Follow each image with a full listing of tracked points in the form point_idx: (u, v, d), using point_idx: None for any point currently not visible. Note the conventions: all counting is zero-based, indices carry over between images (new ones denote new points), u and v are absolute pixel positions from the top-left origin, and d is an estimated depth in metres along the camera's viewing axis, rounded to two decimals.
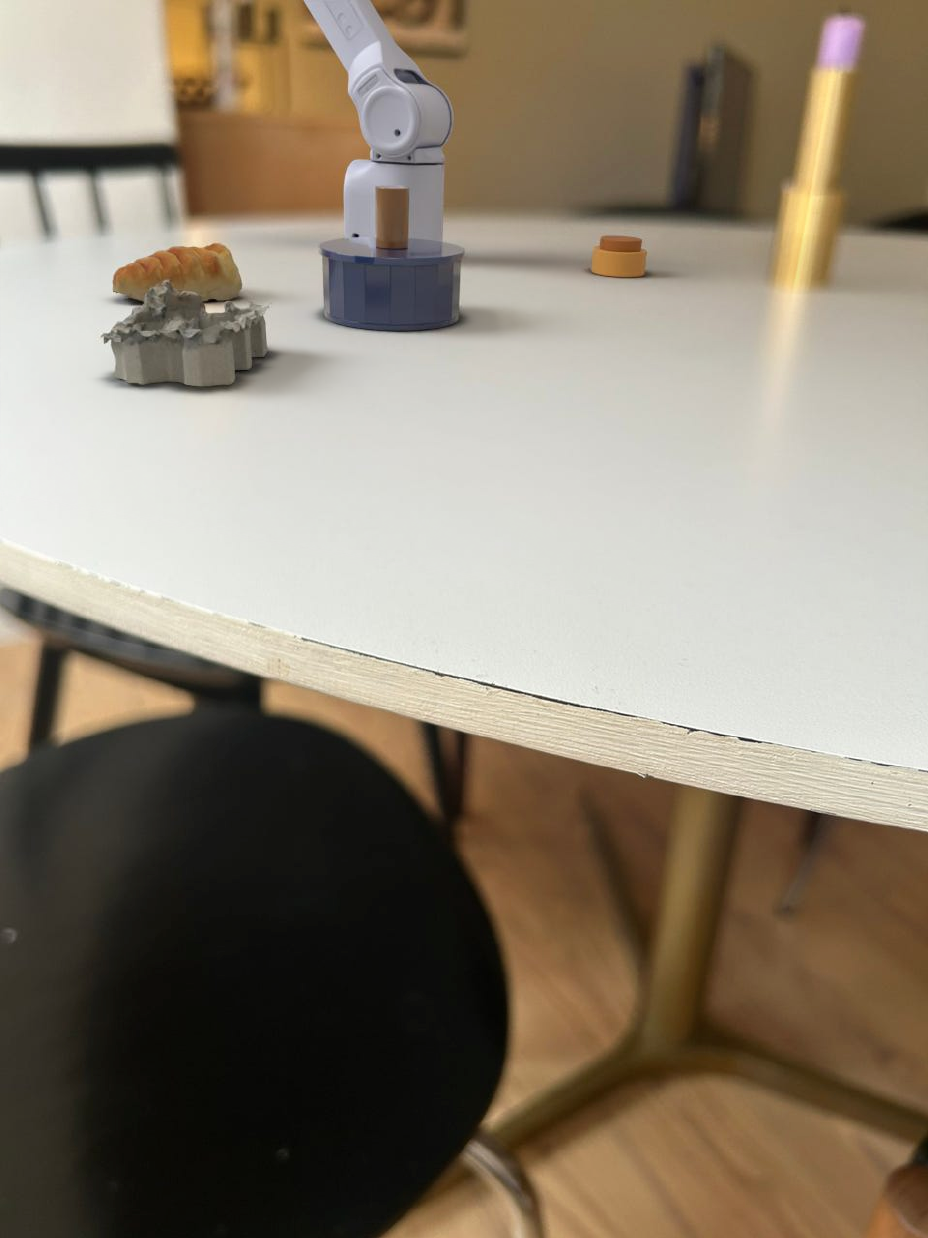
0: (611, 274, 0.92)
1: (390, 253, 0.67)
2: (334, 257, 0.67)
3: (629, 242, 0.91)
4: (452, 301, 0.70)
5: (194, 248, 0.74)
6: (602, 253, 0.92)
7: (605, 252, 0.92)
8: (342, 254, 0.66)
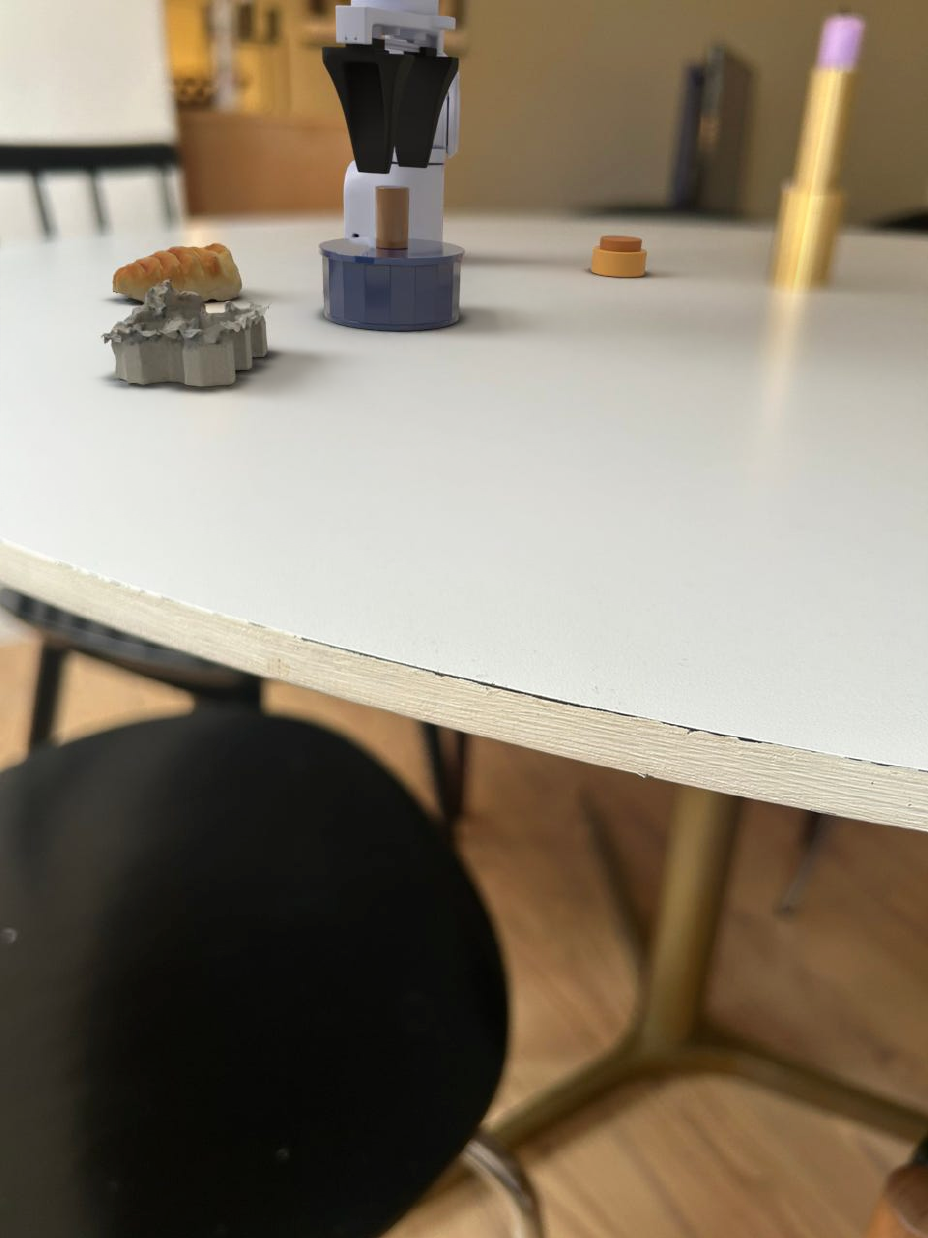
0: (611, 274, 0.92)
1: (390, 253, 0.67)
2: (334, 257, 0.67)
3: (629, 242, 0.91)
4: (452, 301, 0.70)
5: (194, 248, 0.74)
6: (602, 253, 0.92)
7: (605, 252, 0.92)
8: (342, 254, 0.66)
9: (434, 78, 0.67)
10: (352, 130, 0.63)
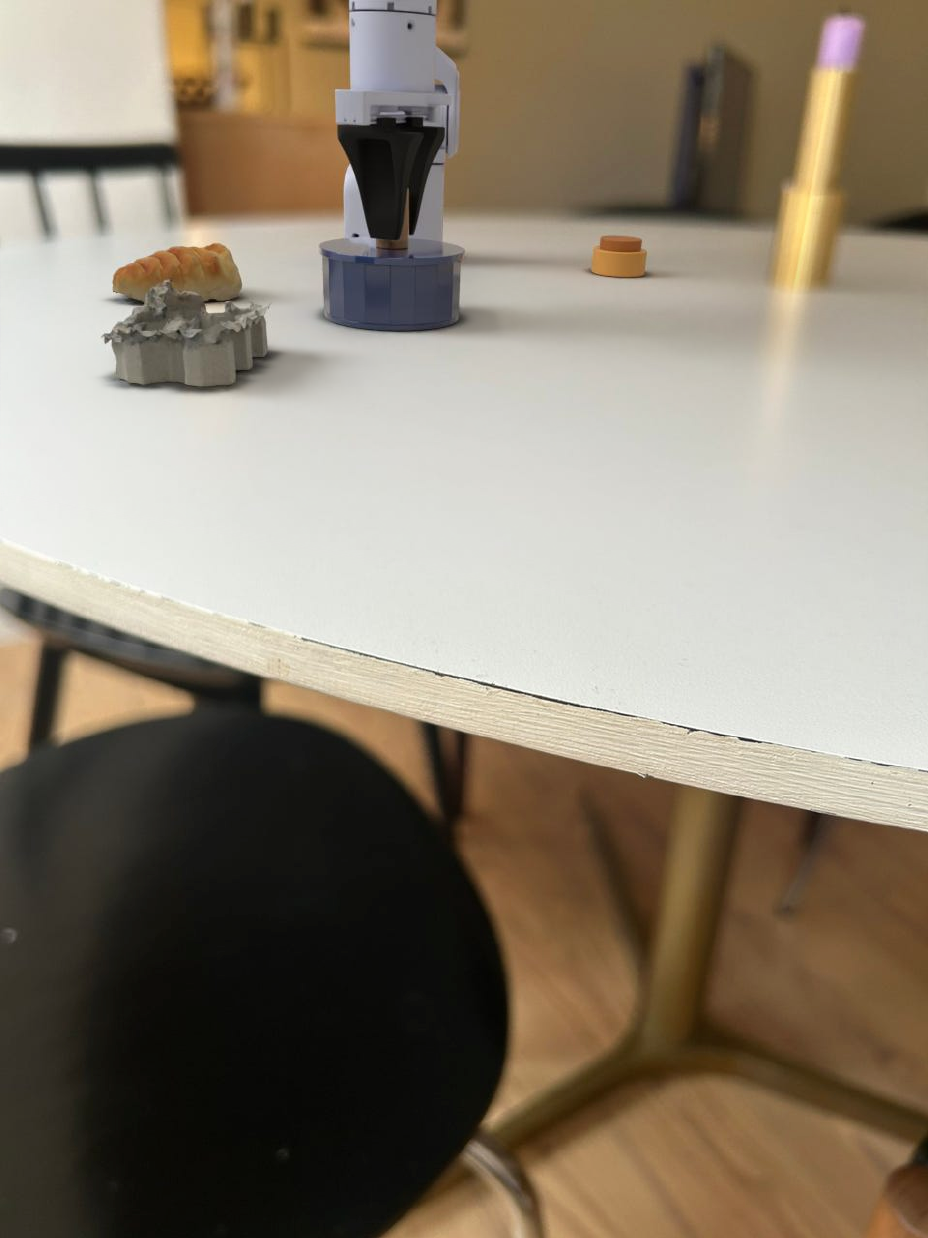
0: (611, 274, 0.92)
1: (390, 253, 0.67)
2: (334, 257, 0.67)
3: (629, 242, 0.91)
4: (452, 301, 0.70)
5: (194, 248, 0.74)
6: (602, 253, 0.92)
7: (605, 252, 0.92)
8: (342, 254, 0.66)
9: (420, 148, 0.68)
10: (365, 200, 0.67)
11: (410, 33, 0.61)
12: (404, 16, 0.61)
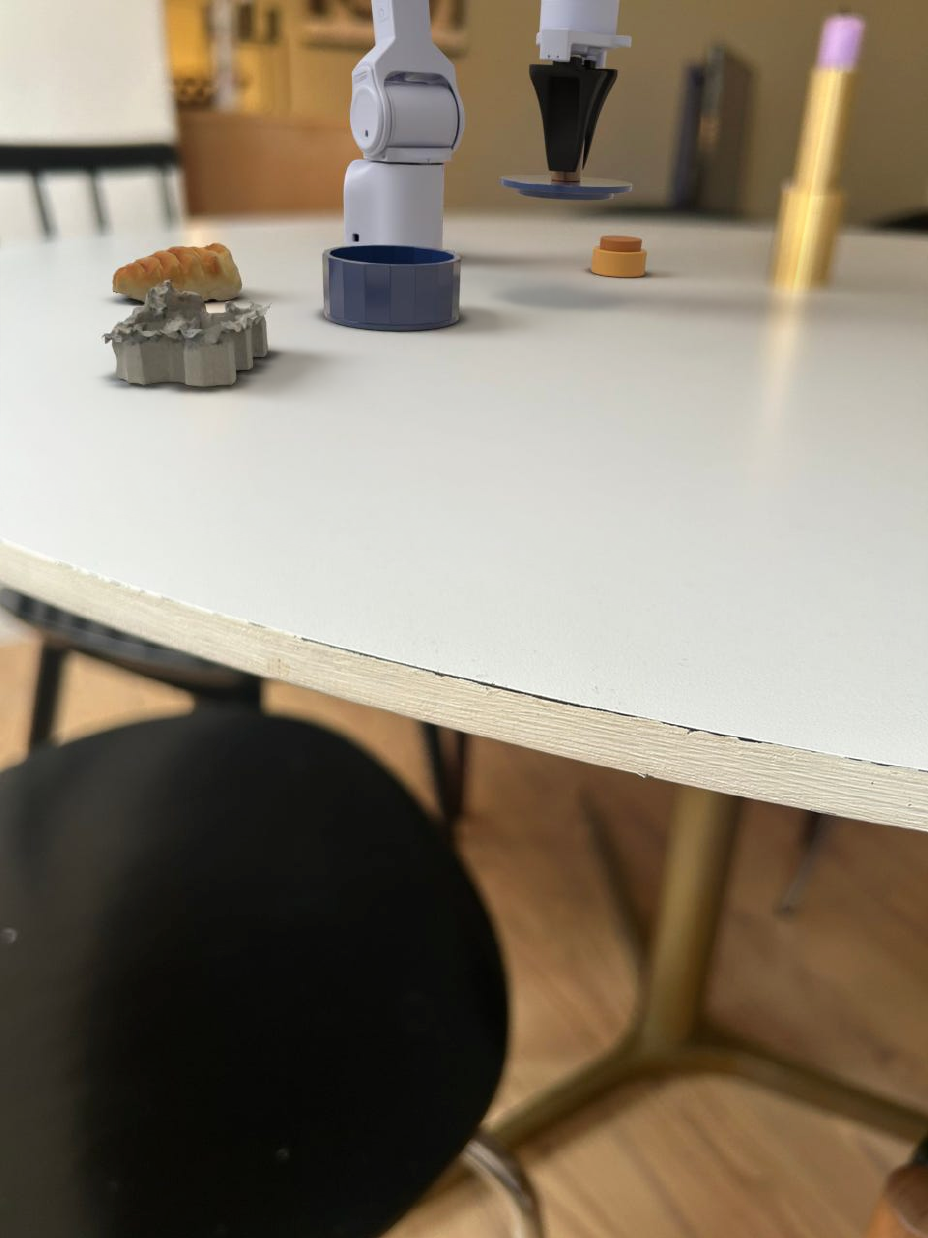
0: (611, 274, 0.92)
1: (570, 183, 0.74)
2: (520, 186, 0.73)
3: (629, 242, 0.91)
4: (452, 301, 0.70)
5: (194, 248, 0.74)
6: (602, 253, 0.92)
7: (605, 252, 0.92)
8: (529, 183, 0.73)
9: None
10: (548, 135, 0.73)
11: None
12: None
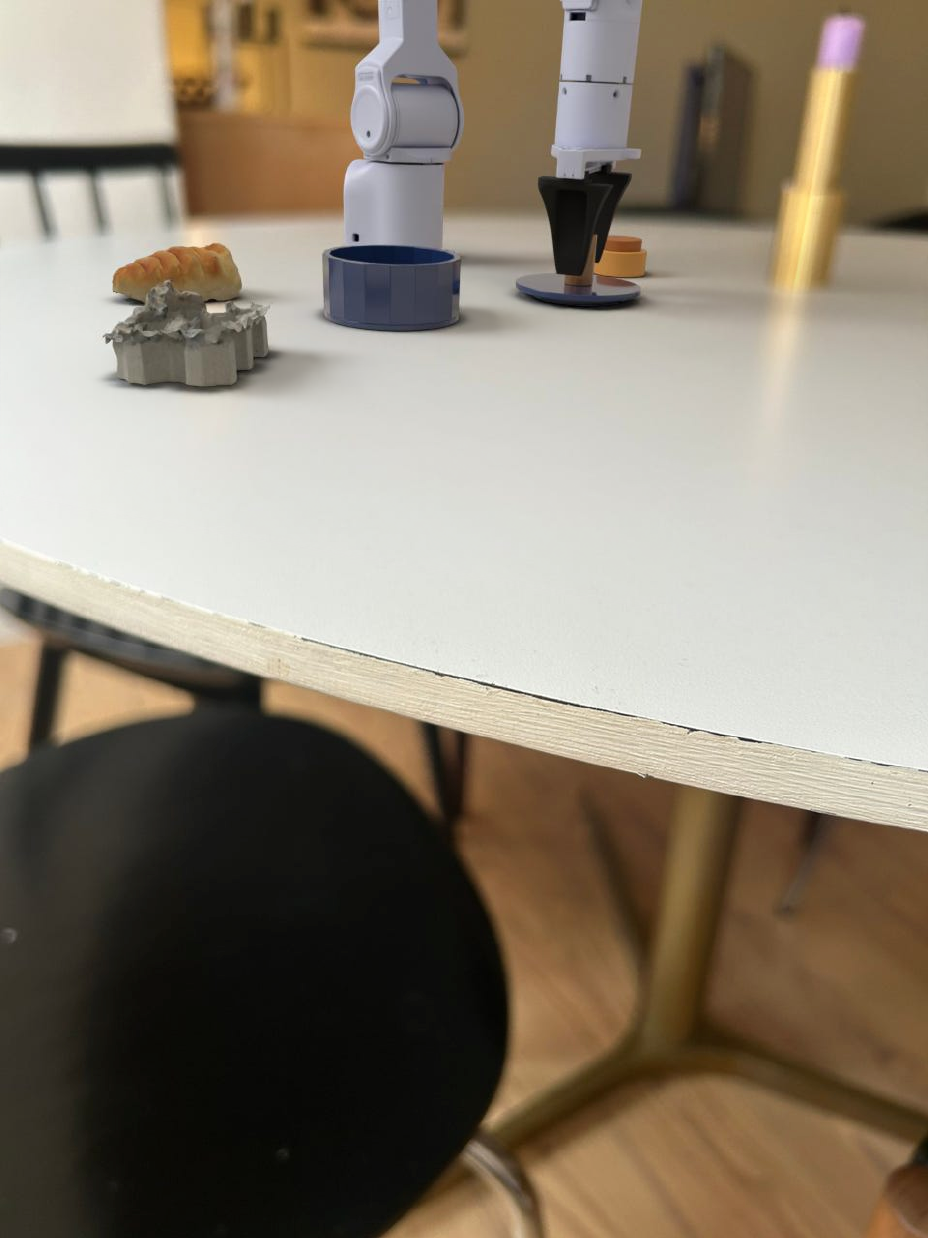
0: (611, 274, 0.92)
1: (583, 290, 0.79)
2: (536, 294, 0.78)
3: (629, 242, 0.91)
4: (452, 301, 0.70)
5: (194, 248, 0.74)
6: None
7: (605, 252, 0.92)
8: (544, 291, 0.78)
9: (612, 191, 0.81)
10: (555, 241, 0.76)
11: (615, 100, 0.73)
12: (612, 86, 0.72)
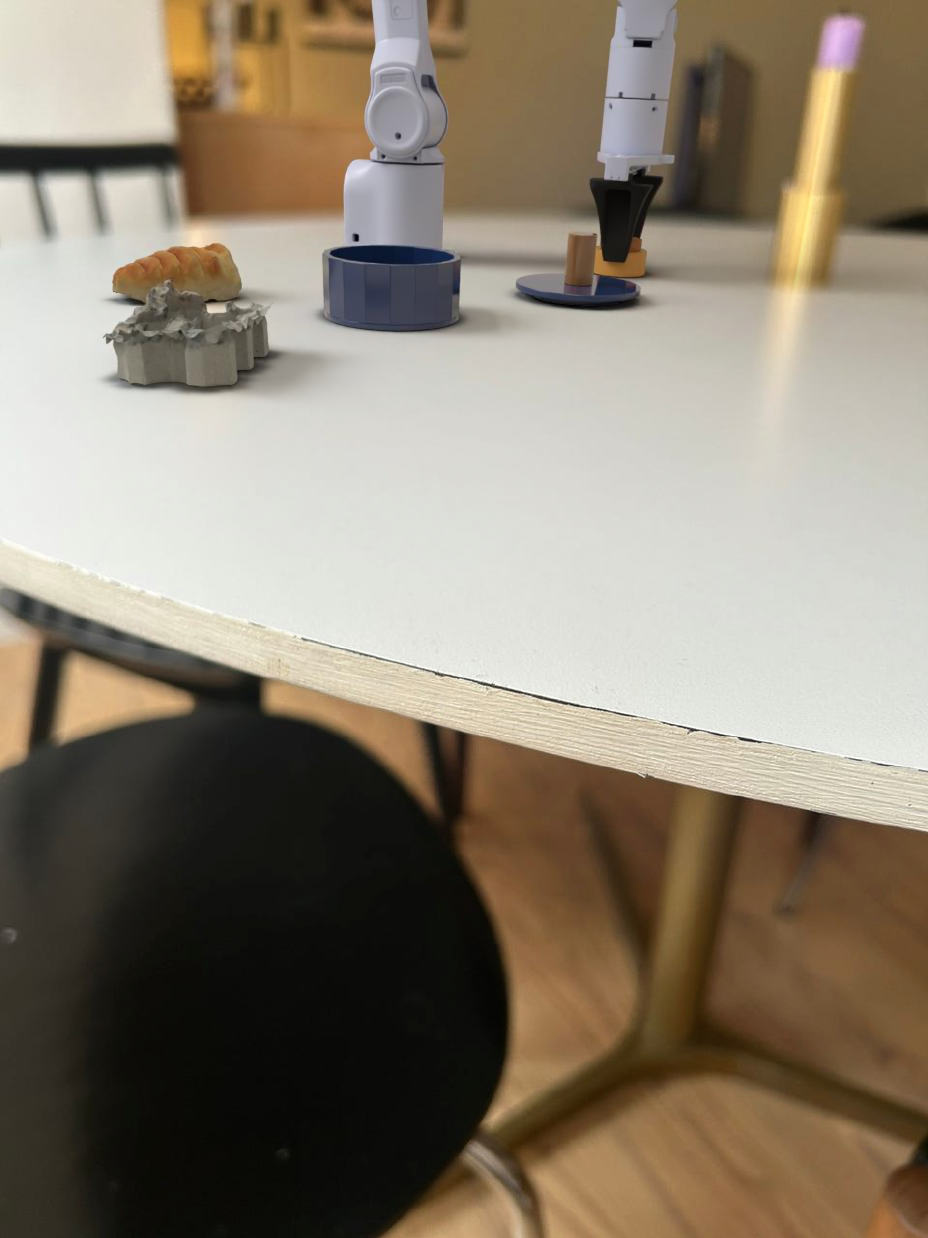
0: (611, 274, 0.92)
1: (583, 290, 0.79)
2: (536, 294, 0.78)
3: None
4: (452, 301, 0.70)
5: (194, 248, 0.74)
6: None
7: None
8: (544, 291, 0.78)
9: None
10: (603, 233, 0.90)
11: (653, 114, 0.86)
12: (651, 102, 0.85)
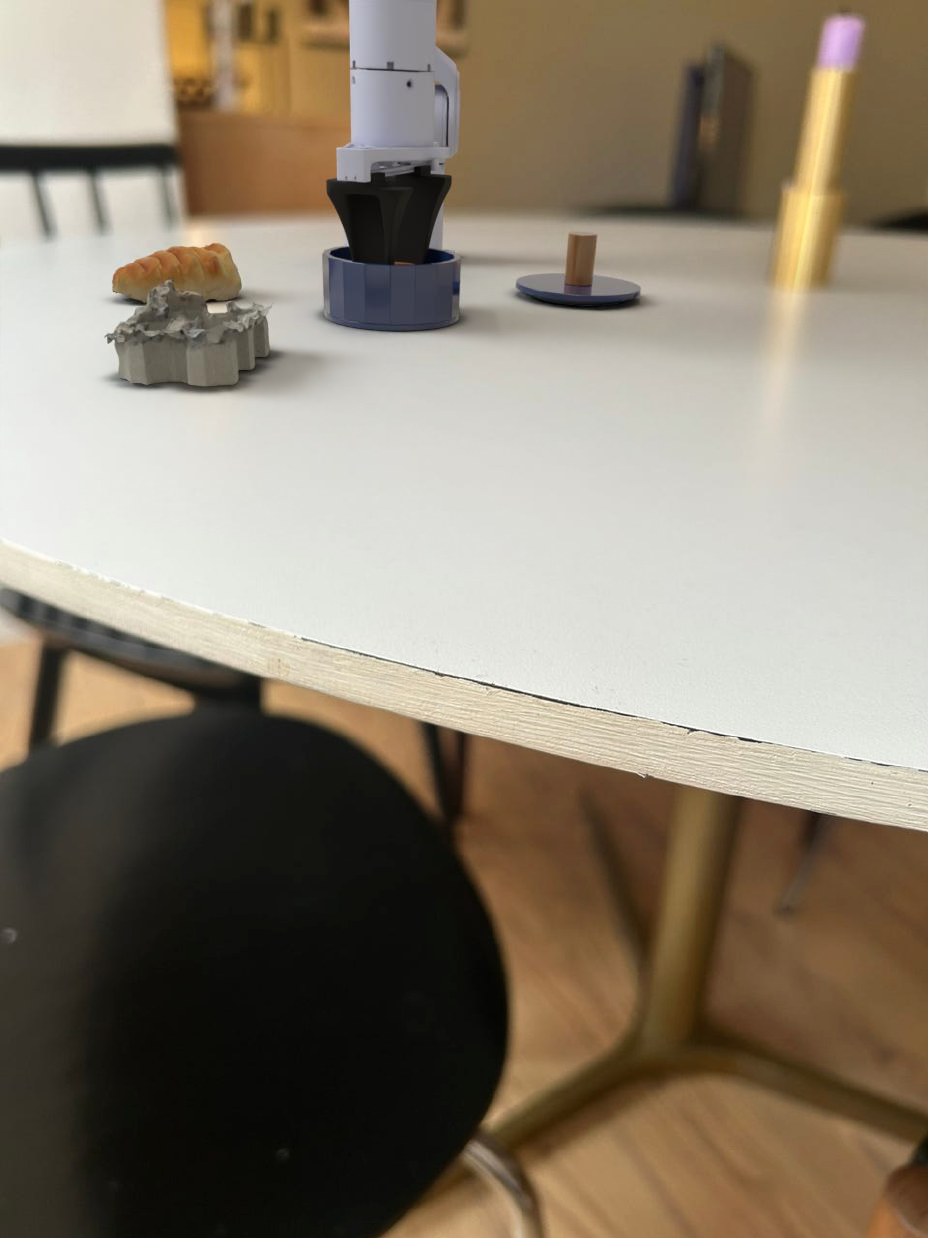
0: None
1: (583, 290, 0.79)
2: (536, 294, 0.78)
3: None
4: (452, 301, 0.70)
5: (194, 248, 0.74)
6: None
7: None
8: (544, 291, 0.78)
9: (428, 196, 0.71)
10: (354, 253, 0.67)
11: (409, 91, 0.63)
12: (404, 75, 0.62)
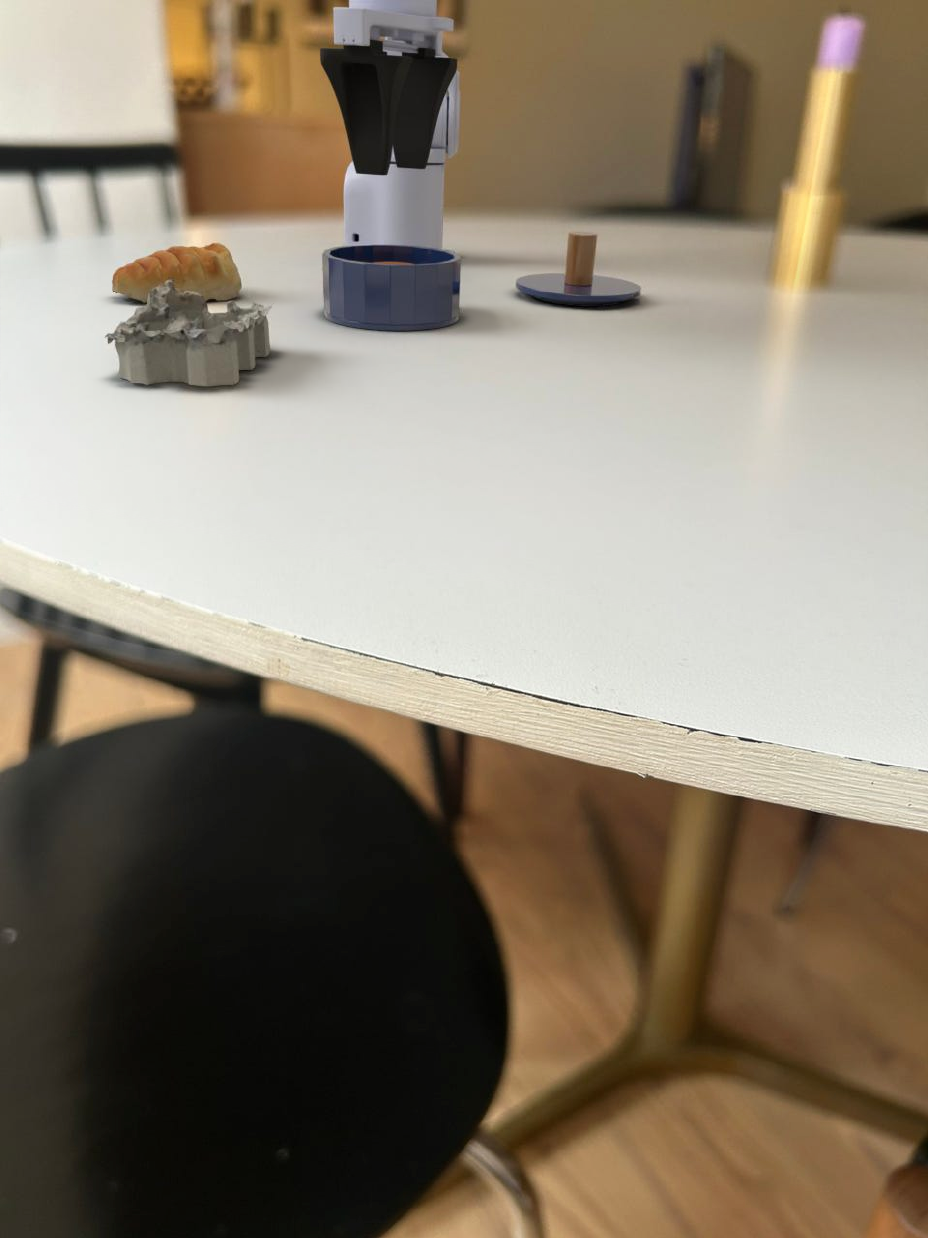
0: None
1: (583, 290, 0.79)
2: (536, 294, 0.78)
3: None
4: (452, 301, 0.70)
5: (193, 248, 0.74)
6: None
7: None
8: (544, 291, 0.78)
9: (433, 79, 0.67)
10: (350, 131, 0.63)
11: None
12: None
